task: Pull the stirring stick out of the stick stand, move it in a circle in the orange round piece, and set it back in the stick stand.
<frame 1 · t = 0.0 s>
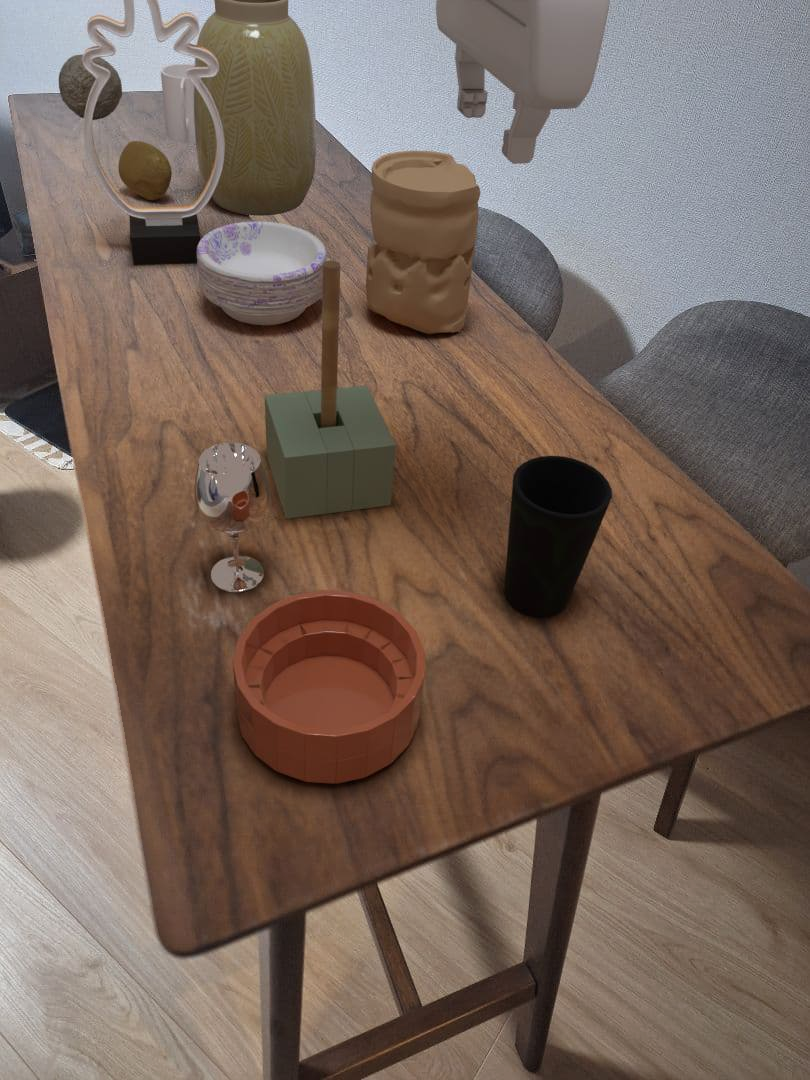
hand: (492, 136, 66), 33 cm above the table, tool pointing down, fingers open, 8 cm apart
stirring stick: (329, 381, 81), in the stick stand
potato: (148, 199, 135), on the table
stick stand: (327, 479, 88), on the table
paper bowls: (264, 309, 113), on the table
wineglass: (237, 575, 78), on the table
orange round piece: (328, 710, 67), on the table
container: (414, 318, 114), on the table
vase: (258, 200, 138), on the table
cup: (535, 596, 78), on the table
lamp: (167, 250, 123), on the table
decorative stone: (95, 119, 159), on the table
cup 2: (190, 139, 155), on the table
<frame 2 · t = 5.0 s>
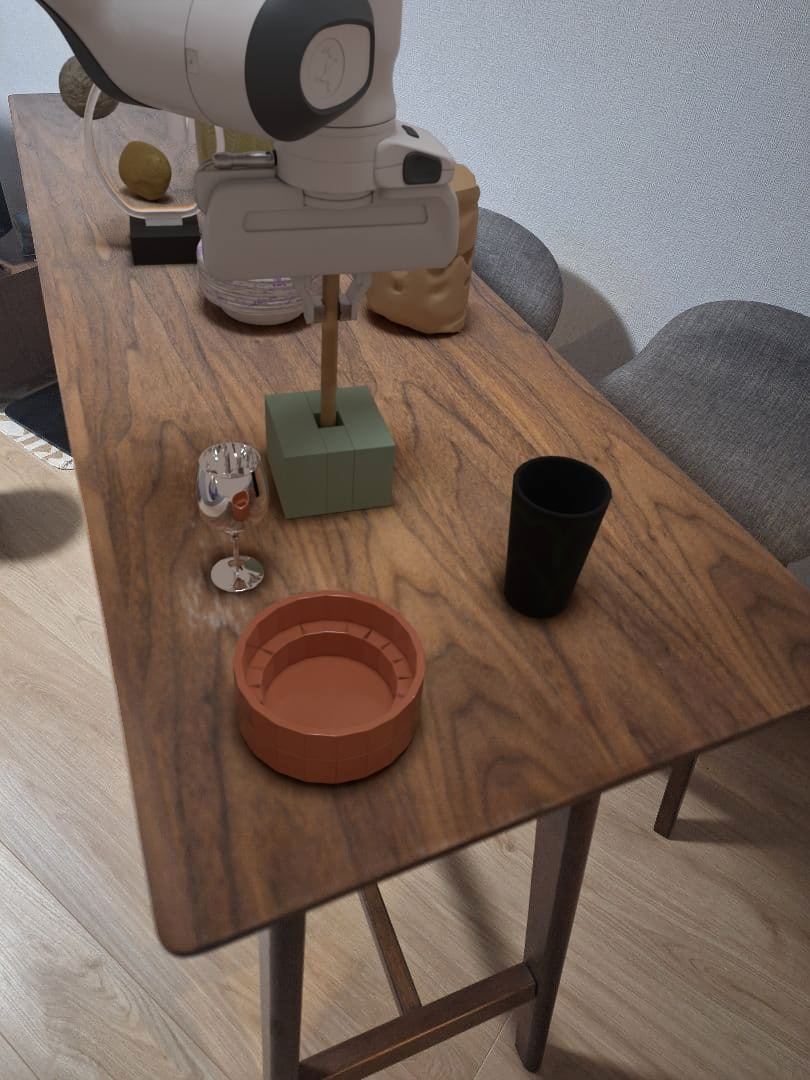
hand: (330, 319, 77), 17 cm above the table, tool pointing down, fingers closed on stirring stick, 1 cm apart
stirring stick: (328, 381, 81), in the stick stand, touching gripper
everything else where it was.
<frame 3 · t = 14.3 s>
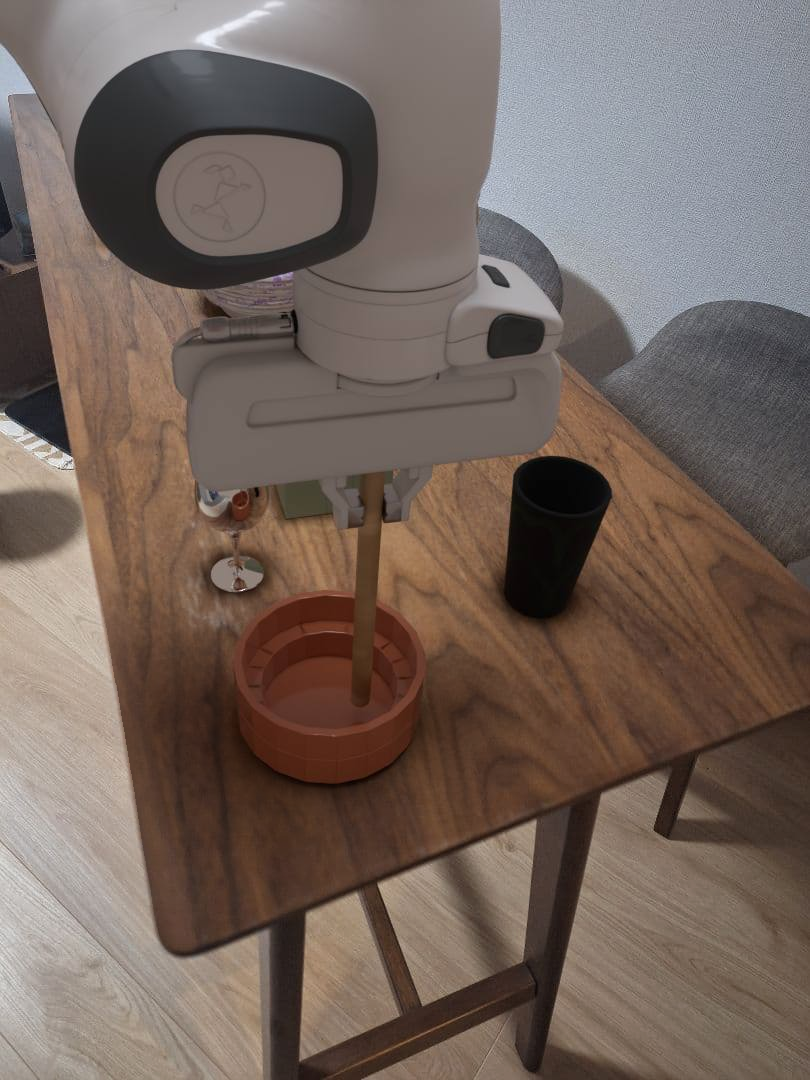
hand: (370, 519, 54), 19 cm above the table, tool pointing down, fingers closed on stirring stick, 1 cm apart
stirring stick: (366, 591, 58), point 13 cm above the table, touching gripper
everything else where it was.
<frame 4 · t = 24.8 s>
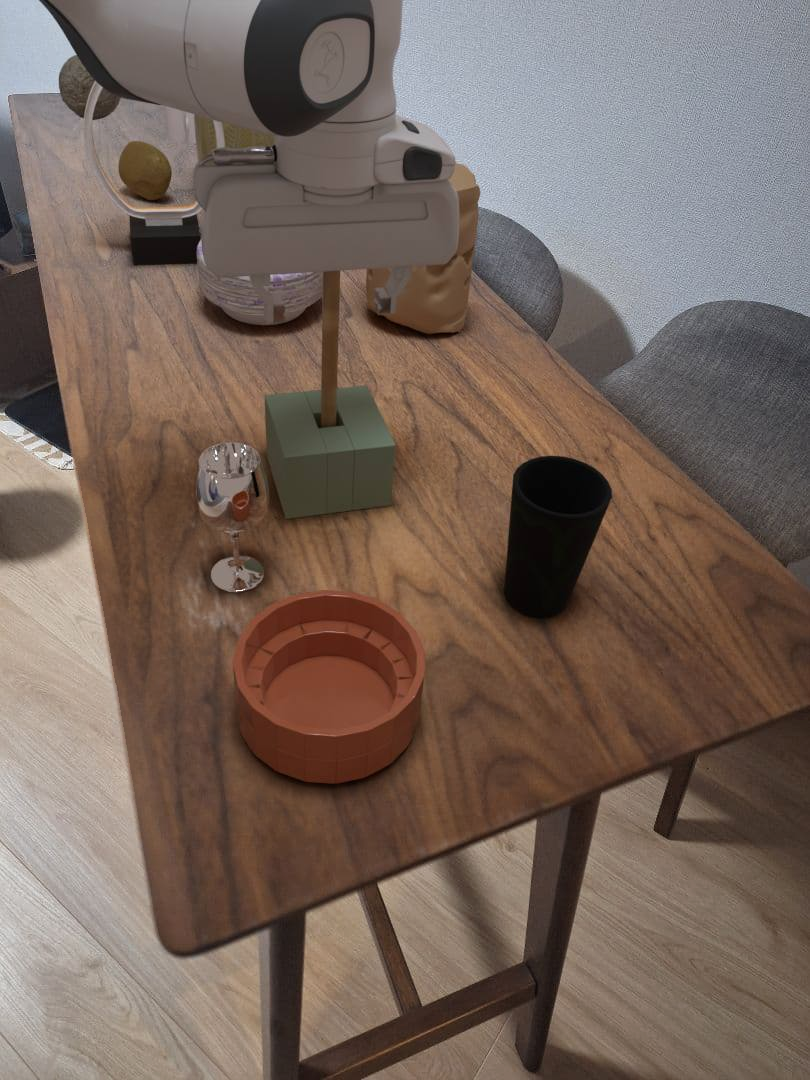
hand: (330, 315, 76), 17 cm above the table, tool pointing down, fingers open, 8 cm apart
stirring stick: (329, 381, 81), in the stick stand
everything else where it was.
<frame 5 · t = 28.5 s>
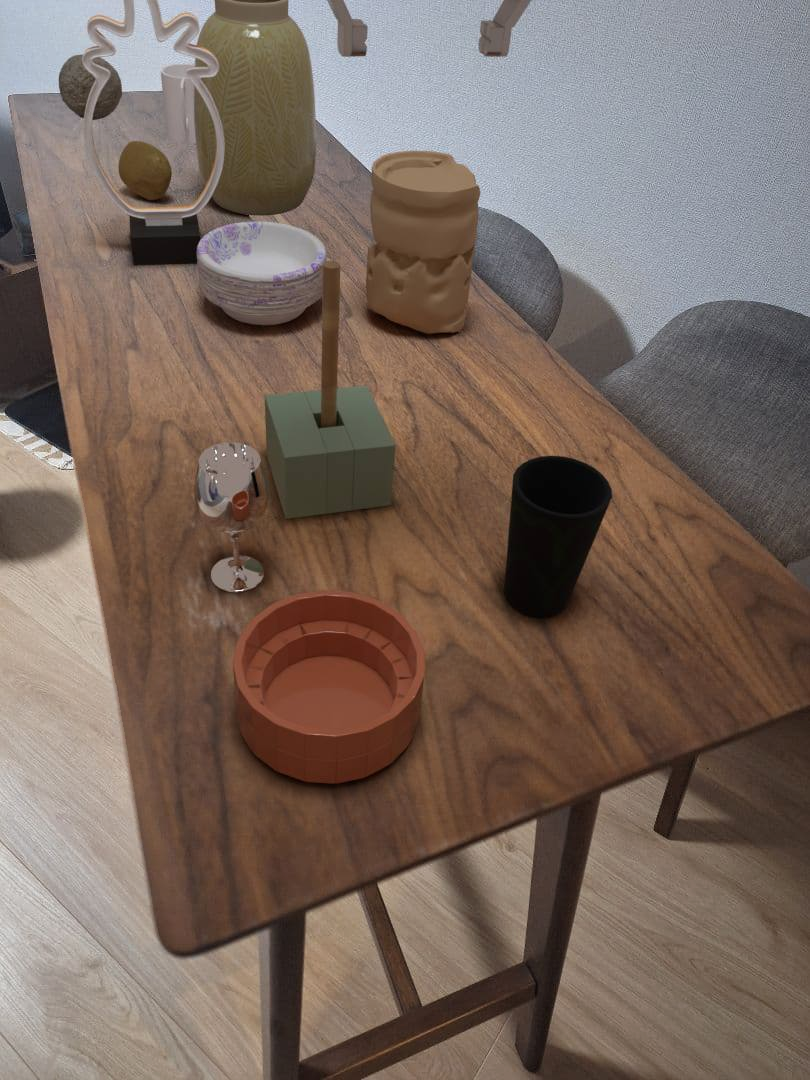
hand: (423, 54, 58), 39 cm above the table, tool pointing down, fingers open, 8 cm apart
nothing on the table moved.
at the end: stirring stick 0.1 cm off-centre in the stick stand, point 11.0 cm above the stick stand's base; stirring stick tilted 0°; the gripper is holding nothing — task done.
